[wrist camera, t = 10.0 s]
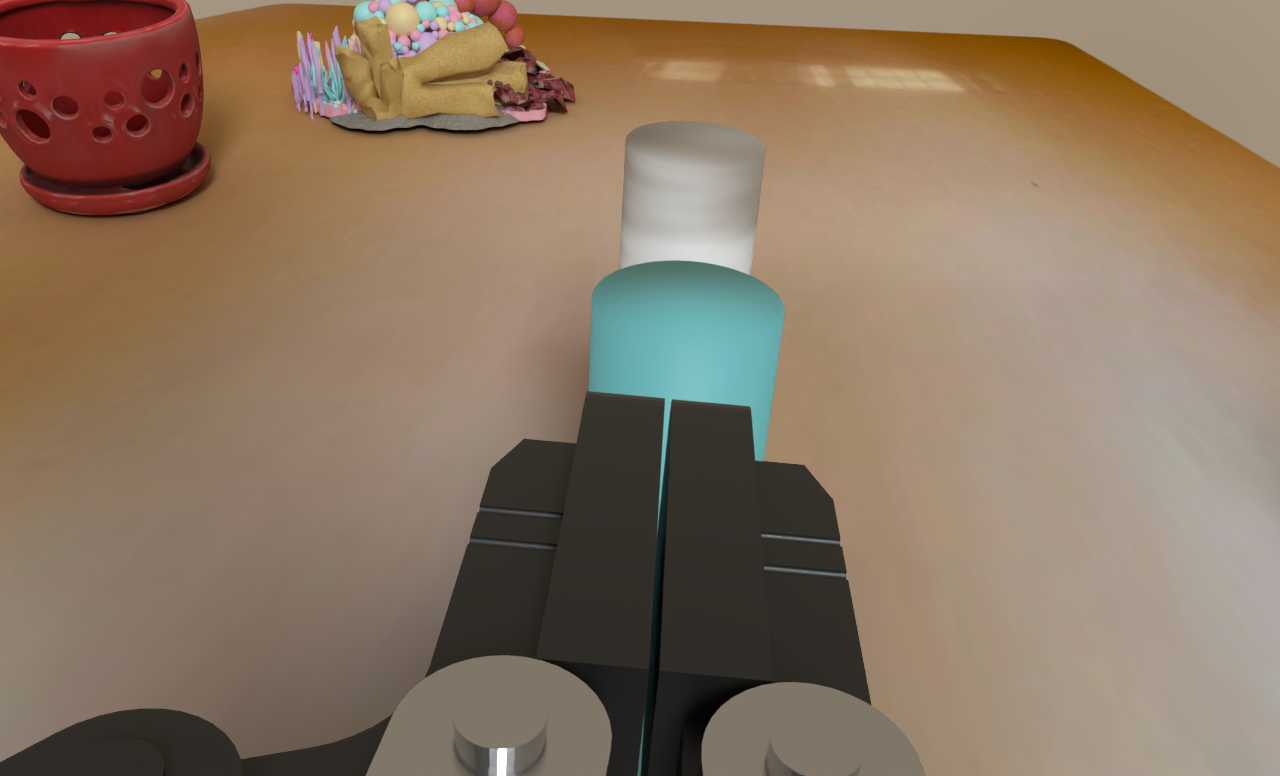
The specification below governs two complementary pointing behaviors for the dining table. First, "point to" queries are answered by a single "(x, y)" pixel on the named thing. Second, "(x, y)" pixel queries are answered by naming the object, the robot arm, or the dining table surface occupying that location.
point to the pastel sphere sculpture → (428, 69)
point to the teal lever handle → (687, 340)
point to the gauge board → (691, 194)
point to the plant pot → (102, 102)
